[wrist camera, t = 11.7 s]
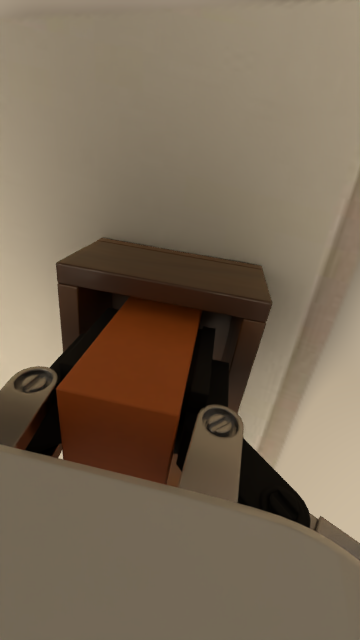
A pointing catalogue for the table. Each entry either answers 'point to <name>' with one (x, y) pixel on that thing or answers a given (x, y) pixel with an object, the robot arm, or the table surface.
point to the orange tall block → (130, 391)
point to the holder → (169, 299)
